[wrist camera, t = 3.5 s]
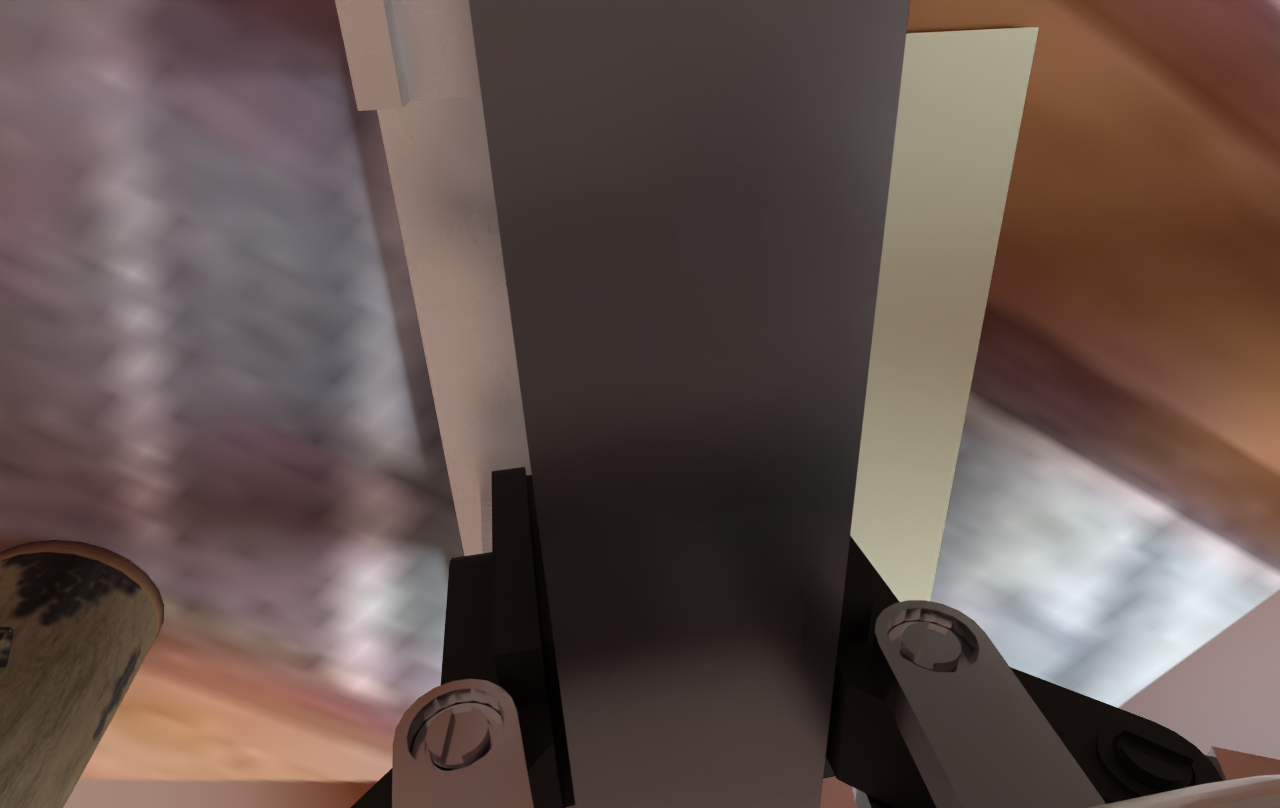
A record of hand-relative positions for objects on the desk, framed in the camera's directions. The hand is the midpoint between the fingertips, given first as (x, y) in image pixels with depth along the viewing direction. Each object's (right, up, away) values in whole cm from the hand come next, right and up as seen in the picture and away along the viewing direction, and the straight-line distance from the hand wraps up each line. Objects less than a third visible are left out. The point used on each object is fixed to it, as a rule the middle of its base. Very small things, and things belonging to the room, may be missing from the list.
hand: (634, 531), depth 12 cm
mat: (+9, +2, +15) cm, 18 cm away
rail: (0, -1, -1) cm, 1 cm away
